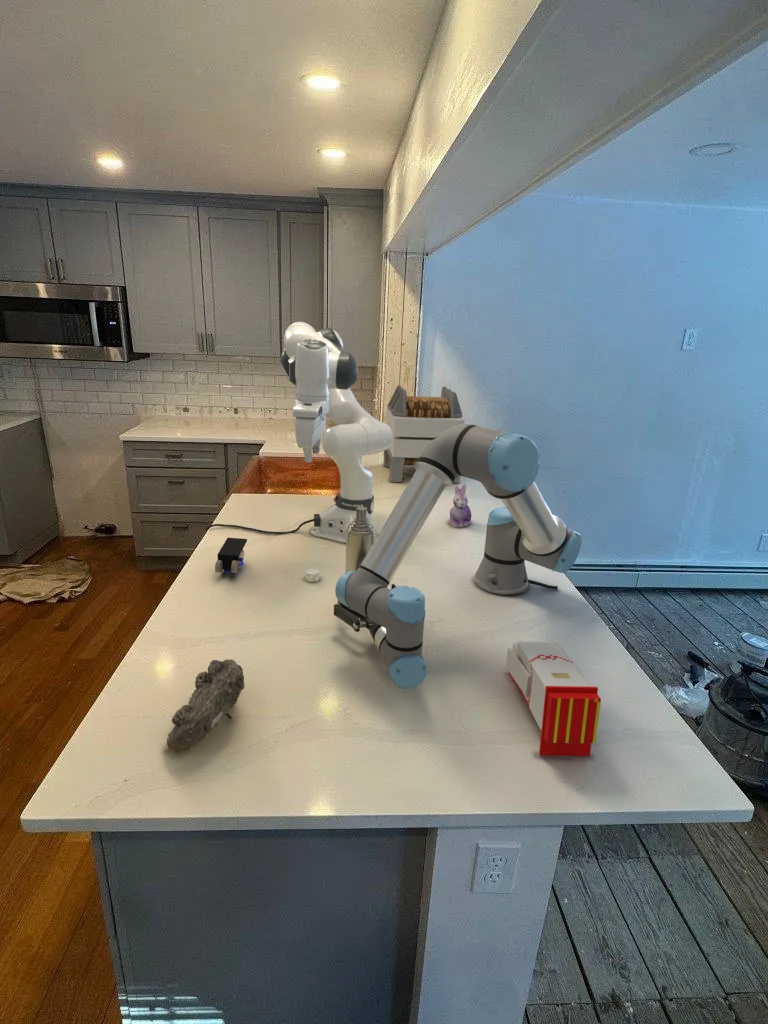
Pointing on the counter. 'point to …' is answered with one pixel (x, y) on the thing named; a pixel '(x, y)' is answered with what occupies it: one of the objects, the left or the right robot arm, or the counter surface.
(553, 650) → the toy
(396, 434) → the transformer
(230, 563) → the figurine character
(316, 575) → the cap
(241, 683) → the fossil
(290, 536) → the counter surface
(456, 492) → the figurine
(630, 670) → the counter surface
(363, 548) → the silver ridged cylinder
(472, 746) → the counter surface
